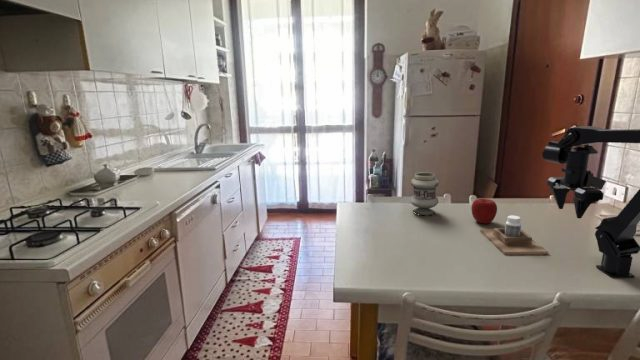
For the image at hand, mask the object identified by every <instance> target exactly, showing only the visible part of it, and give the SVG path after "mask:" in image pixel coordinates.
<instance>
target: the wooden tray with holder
mask: <svg viewBox="0 0 640 360" xmlns="http://www.w3.org/2000/svg"><path fill="white" fill-rule="evenodd" d="M479 232H480V233H481V234H482V235H483V236H484V237H485V238H486V239H487V240H488V241H489V242H491V243H492V245H493V246H494V247H495V248H496V249H498V251H500V252H501V253H502V254H503V255H505V256H506V255H508V256H509V255H510V256H511V255H520V256H521V255H549V250H547V249H546V248H544V247H543V246H542V245H540V244H539V243H538V242H536V241H535V240H534V239H533V237H531V235H529V234H528V233H526V232H525V231H524V230H522V229H521V230H520V237H506V236H505V227H504V228H502V227H498V228H497V227H494V228H480V230H479Z"/></svg>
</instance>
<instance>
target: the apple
mask: <svg viewBox="0 0 640 360" xmlns="http://www.w3.org/2000/svg"><path fill="white" fill-rule="evenodd" d="M497 212H498V206H497V204H496V202H495V201H494V200H492V199H488V198H477V199H475V200H473V202H472V205H471V215H472V217H473V219H474V221H476V222H477V223H480V224H484V225H487V224H490V223H492V221H493V220H494V219H495V218H496V215H497V214H498V213H497Z"/></svg>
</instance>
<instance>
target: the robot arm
mask: <svg viewBox="0 0 640 360" xmlns="http://www.w3.org/2000/svg"><path fill="white" fill-rule="evenodd" d="M600 143H611V144H615V143H617V144H640V128H637V129H636V128H631V129H630V128H629V129H627V128H625V129H623V128H620V129H616V128H615V129H613V128H611V129H609V128H608V129H607V128H603V127H599V126H592V125H579V126H573V127H572V126H571V127H569V128H568V129H567V131H566V133H565V135H564V136H563V137H562V138H561V139H560V140H559V142H558V141H556V140H555V141H548V144H547V145H546V146H545V147H544V149H543V151H542V153H541V154H542V155H541V156H542V158H543V160H544V161H546V162H551V163H556V164H565V167H562V168H561V172H563V174H564V175H563V176H550V177H549V178H548V179H547V182H546V185H547V187H548V189H550V191H551V194H552V195H553V197H554V201H555V202H556V204H557V208H558V209H559V210H562V209H564V207H565V203H566V199H567V196H568V195H567V194H568V193H569V192H570V191H572V192H574V196H575V197H573V198H572V199H573V204H574V210H575V215H576V218H577V219H582V218H583V217H584V214H585V213H586V211H587V210H588V209H589V207H591V205H592V204H593V203H595V202H600V201H602V200H603V199H604V195H605V194H604V192H603V191H602V190H603V188H604V186H605V184H606V182H607V180H605V179H602V178H600V177H596V176H594V173H593V172H592V171H591V170H589V169H588V168H589V160H590V156H591V155H596V154H598V153H599V152H598V150H597V149H595V148H594V146H593V145H594V144H600ZM583 145H586V146H583ZM639 223H640V188H639V189H638V190H637V191H636V193H635V194H633V196H632V198H630V200H629V201H628V202H627V203H626V204H625V206H624V207H623V208H622V209H621V210H620V212H619V213H618V214H617V216H611V217H604V218H603V219H602V220H601V222H600V223H599V225H598V226H596V227H595V229H596V231H595V233H594V236H595V238H596V239H595V240H596V243H597V247H598V252H600V253H601V254H602V258H601V264H596V265H595V268H596V269H598V270H600V271H601V272H602V273H605V274H606V275H607V276H609V277H610V278H635V274H633V273H631V268H632V263H633V256H632V255H635V254H636V255H637V254H639V252H640V244H638V242H637V240H636V239H635V238H634V237H635V236H636V233H637V226H638V224H639Z"/></svg>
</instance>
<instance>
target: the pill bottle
mask: <svg viewBox="0 0 640 360" xmlns="http://www.w3.org/2000/svg"><path fill="white" fill-rule="evenodd" d="M521 219H522V218H521V217H520V216H518V215H507V220H506V222H505V227H504V228H505V236H506V237H520V230H522V223H521Z"/></svg>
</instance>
